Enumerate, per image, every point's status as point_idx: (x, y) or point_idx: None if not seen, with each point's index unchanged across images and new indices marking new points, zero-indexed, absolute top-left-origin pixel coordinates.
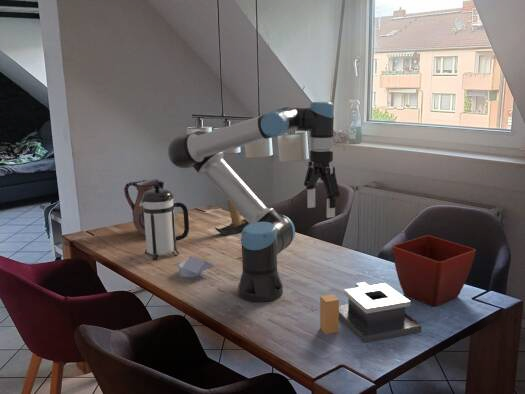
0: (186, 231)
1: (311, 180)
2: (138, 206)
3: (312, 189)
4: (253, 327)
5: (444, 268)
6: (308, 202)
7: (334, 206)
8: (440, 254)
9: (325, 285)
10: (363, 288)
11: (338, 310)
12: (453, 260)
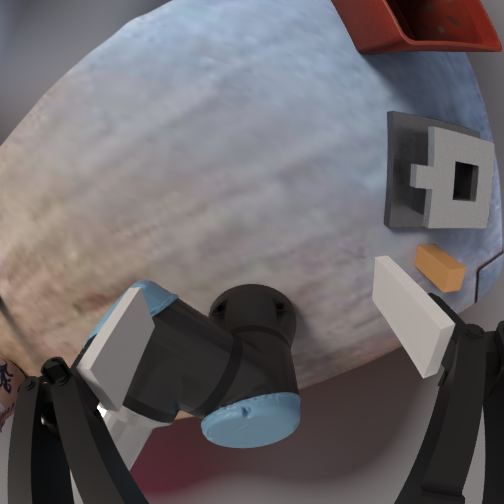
0: (42, 380)
1: (138, 489)
2: (13, 413)
3: (103, 388)
4: (365, 347)
5: (485, 37)
6: (145, 347)
7: (439, 302)
8: None
9: (258, 185)
10: (439, 187)
11: (454, 259)
12: (480, 9)
